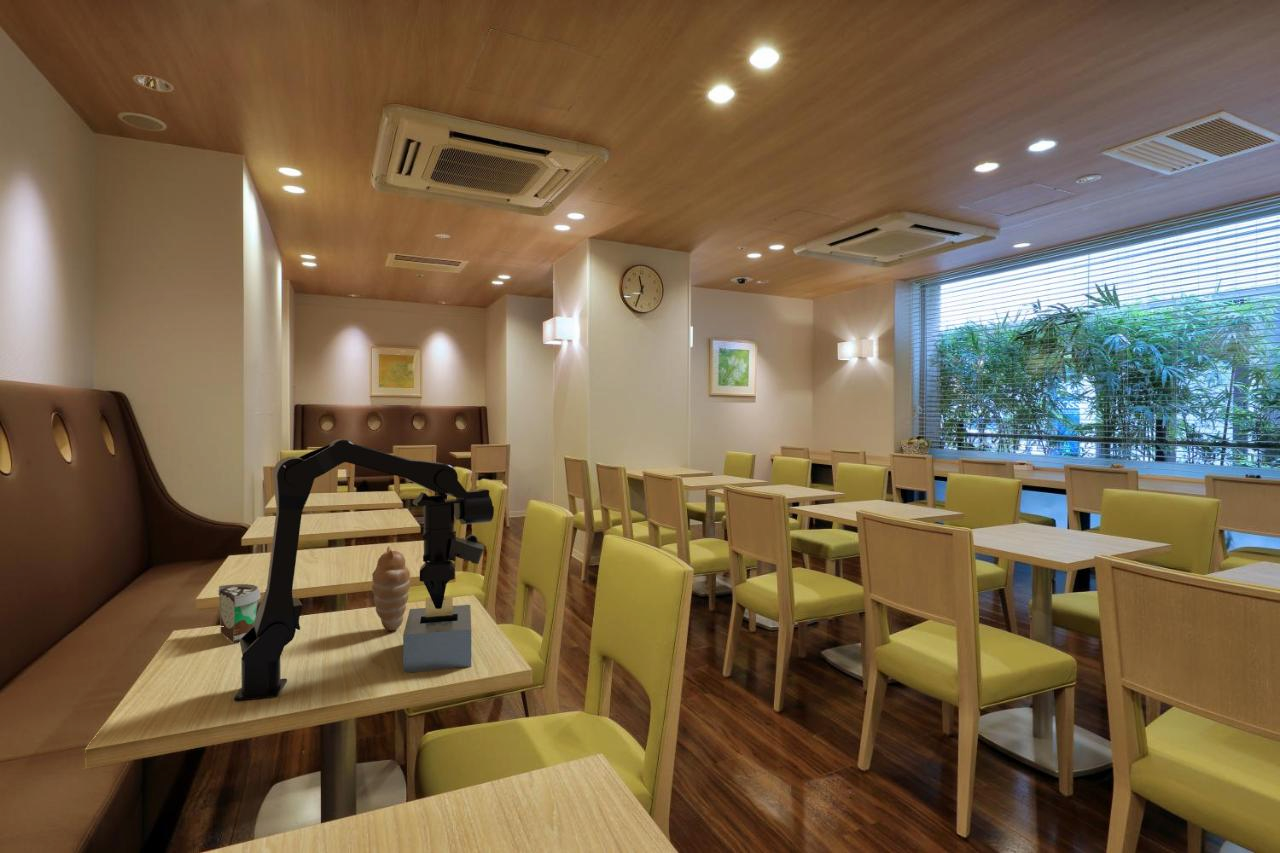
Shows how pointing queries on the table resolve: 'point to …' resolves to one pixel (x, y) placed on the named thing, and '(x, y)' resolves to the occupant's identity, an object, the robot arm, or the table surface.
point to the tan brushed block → (445, 610)
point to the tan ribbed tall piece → (391, 588)
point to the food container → (237, 609)
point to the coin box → (437, 640)
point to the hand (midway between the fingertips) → (439, 606)
